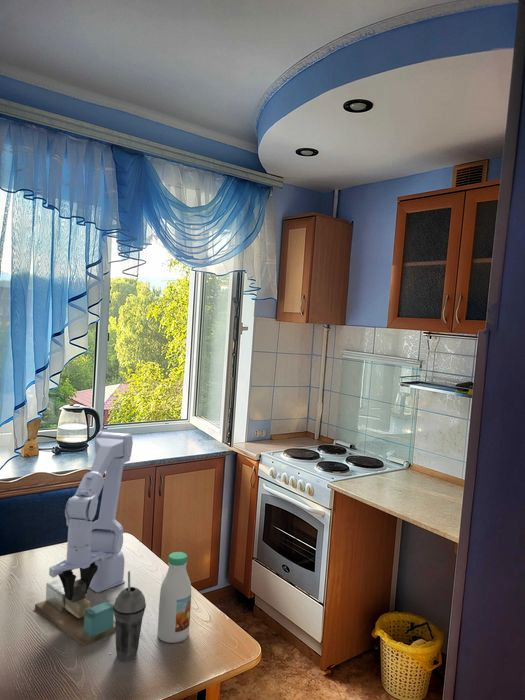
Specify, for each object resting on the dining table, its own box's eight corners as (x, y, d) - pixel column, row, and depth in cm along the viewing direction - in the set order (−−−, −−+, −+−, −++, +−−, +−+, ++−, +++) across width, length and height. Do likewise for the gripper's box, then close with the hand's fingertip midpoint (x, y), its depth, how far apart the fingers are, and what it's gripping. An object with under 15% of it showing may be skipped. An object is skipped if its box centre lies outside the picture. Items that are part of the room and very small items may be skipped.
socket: (106, 622, 130) (107, 601, 130) (113, 627, 128) (114, 605, 128) (83, 632, 125) (85, 610, 125) (90, 637, 123) (92, 614, 123)
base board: (70, 595, 144) (70, 591, 144) (119, 629, 129) (119, 624, 129) (34, 608, 136) (35, 604, 136) (83, 646, 122) (83, 641, 122)
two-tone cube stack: (61, 593, 141) (63, 567, 141) (90, 613, 132) (92, 586, 132) (48, 598, 138) (50, 572, 138) (77, 618, 129) (79, 590, 129)
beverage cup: (149, 651, 121) (154, 566, 121) (131, 669, 114) (136, 579, 114) (122, 643, 124) (127, 560, 123) (103, 660, 117) (108, 572, 116)
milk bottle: (162, 647, 123) (167, 563, 123) (153, 629, 130) (158, 551, 130) (193, 640, 127) (198, 559, 126) (182, 623, 134) (187, 547, 133)
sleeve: (62, 595, 142) (63, 577, 141) (78, 606, 136) (79, 588, 136) (45, 601, 138) (46, 583, 138) (61, 613, 133) (62, 594, 133)
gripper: (60, 556, 124) (57, 612, 125) (112, 540, 136) (109, 591, 136) (46, 547, 129) (43, 601, 129) (97, 532, 140) (94, 582, 140)
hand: (76, 595), depth 133 cm, fingers closed on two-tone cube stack, 4 cm apart
